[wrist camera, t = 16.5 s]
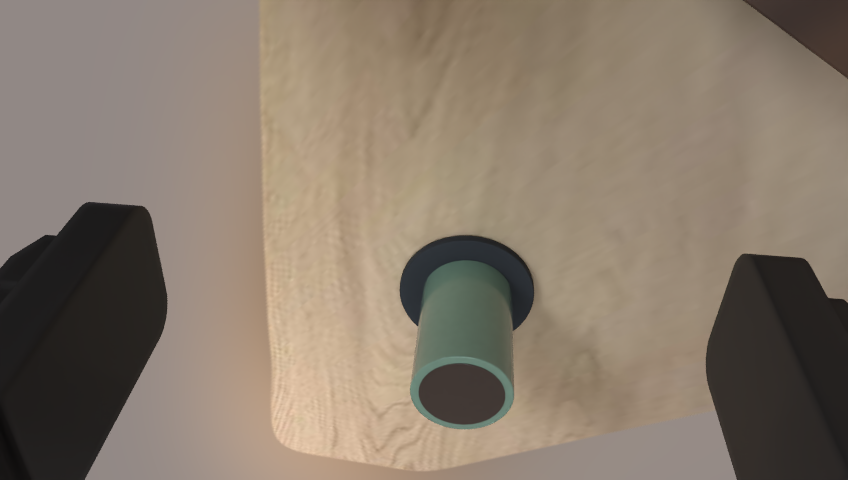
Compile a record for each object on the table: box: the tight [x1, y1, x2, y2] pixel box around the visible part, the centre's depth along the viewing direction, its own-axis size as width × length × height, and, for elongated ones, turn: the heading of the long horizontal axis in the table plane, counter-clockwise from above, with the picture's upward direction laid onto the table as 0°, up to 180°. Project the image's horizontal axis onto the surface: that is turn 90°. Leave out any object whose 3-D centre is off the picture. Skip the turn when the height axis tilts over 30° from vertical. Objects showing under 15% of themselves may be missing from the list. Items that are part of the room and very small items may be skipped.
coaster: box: [400, 236, 534, 331], centre depth 52 cm, size 9×9×1 cm
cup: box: [410, 260, 514, 429], centre depth 48 cm, size 6×6×9 cm
